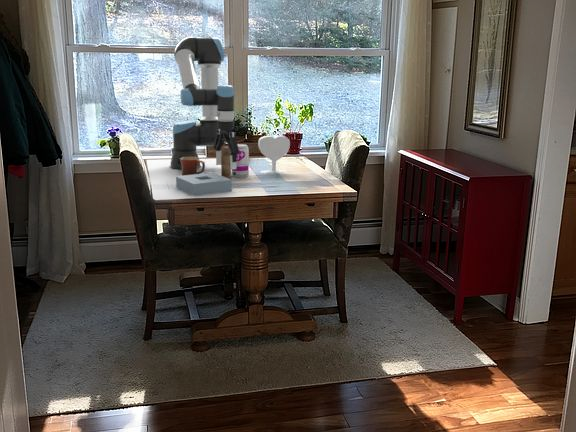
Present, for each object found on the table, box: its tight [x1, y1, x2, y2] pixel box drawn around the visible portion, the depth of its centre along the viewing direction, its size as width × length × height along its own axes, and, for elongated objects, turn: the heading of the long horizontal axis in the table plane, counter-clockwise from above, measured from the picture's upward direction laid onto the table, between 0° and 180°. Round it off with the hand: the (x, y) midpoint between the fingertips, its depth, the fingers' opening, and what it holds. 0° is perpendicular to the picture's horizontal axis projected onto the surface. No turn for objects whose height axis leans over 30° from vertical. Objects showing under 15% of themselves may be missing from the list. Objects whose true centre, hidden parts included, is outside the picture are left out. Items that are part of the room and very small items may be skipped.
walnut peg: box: [220, 146, 232, 180], centre depth 283 cm, size 4×4×16 cm
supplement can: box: [231, 143, 250, 178], centre depth 296 cm, size 8×8×15 cm
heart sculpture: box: [257, 135, 291, 174], centre depth 307 cm, size 16×5×18 cm, turn 104°
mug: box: [180, 156, 206, 176], centre depth 285 cm, size 12×9×10 cm
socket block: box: [175, 172, 233, 197], centre depth 269 cm, size 18×18×5 cm
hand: (226, 166), depth 283 cm, fingers open, 13 cm apart
